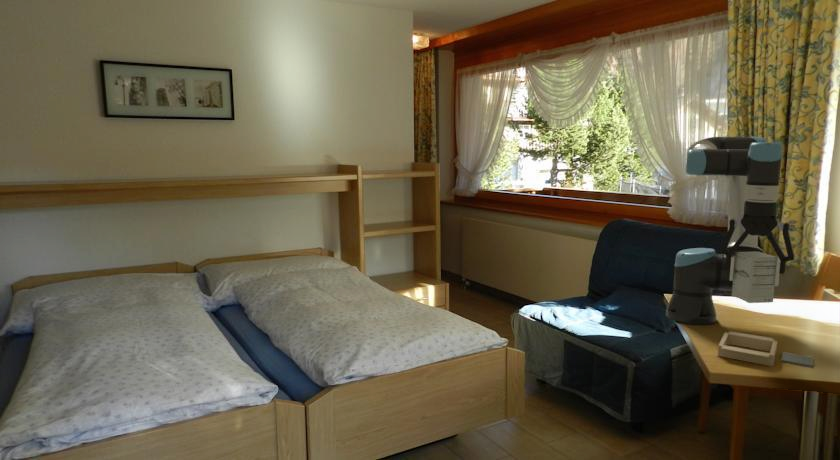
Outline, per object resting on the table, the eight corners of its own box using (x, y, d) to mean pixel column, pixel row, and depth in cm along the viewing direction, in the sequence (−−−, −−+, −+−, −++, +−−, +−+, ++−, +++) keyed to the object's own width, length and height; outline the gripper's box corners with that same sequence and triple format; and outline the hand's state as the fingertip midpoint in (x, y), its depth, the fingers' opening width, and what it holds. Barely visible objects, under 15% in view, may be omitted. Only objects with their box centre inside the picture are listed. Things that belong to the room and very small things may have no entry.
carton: (716, 357, 154) (717, 347, 153) (725, 340, 167) (726, 330, 167) (772, 368, 146) (773, 357, 146) (776, 349, 160) (777, 339, 159)
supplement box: (730, 295, 158) (734, 251, 156) (755, 295, 158) (759, 251, 156) (748, 303, 151) (752, 257, 149) (774, 302, 151) (778, 256, 149)
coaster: (780, 361, 151) (781, 359, 151) (782, 353, 157) (782, 351, 157) (812, 367, 147) (813, 365, 147) (813, 359, 153) (813, 357, 153)
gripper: (711, 199, 154) (705, 279, 157) (812, 204, 141) (802, 291, 144) (715, 197, 160) (709, 274, 163) (812, 202, 147) (803, 285, 150)
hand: (753, 282), depth 154 cm, fingers closed on supplement box, 10 cm apart
